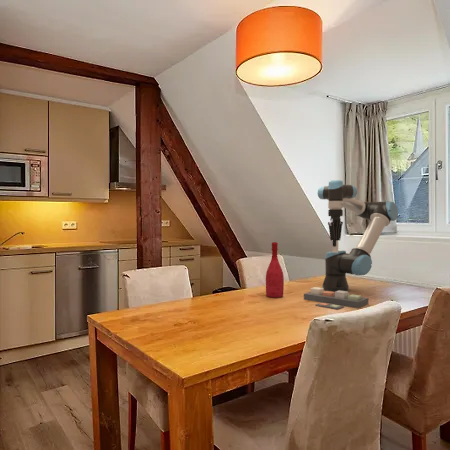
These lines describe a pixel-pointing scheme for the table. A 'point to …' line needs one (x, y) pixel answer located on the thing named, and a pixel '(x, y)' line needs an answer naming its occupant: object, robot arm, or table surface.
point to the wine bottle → (274, 276)
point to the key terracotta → (328, 293)
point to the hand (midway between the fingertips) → (335, 252)
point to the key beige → (341, 294)
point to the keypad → (336, 300)
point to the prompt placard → (329, 306)
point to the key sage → (354, 297)
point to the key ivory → (317, 290)
